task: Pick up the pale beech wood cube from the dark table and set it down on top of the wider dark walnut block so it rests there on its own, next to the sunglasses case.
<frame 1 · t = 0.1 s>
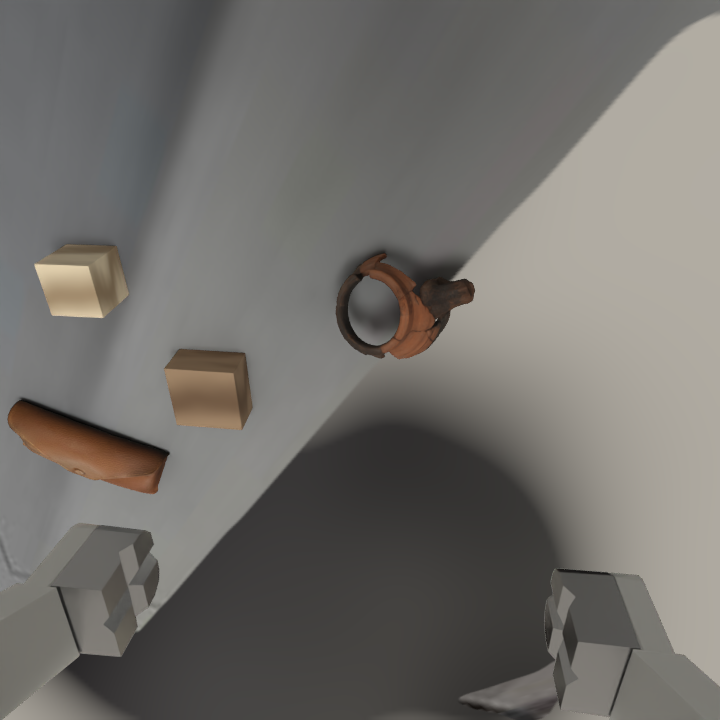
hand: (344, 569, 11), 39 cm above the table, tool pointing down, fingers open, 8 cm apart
brown piece: (409, 292, 50), on the table
sunglasses case: (97, 444, 66), on the table
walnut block: (217, 377, 58), on the table
beech block: (98, 269, 53), on the table
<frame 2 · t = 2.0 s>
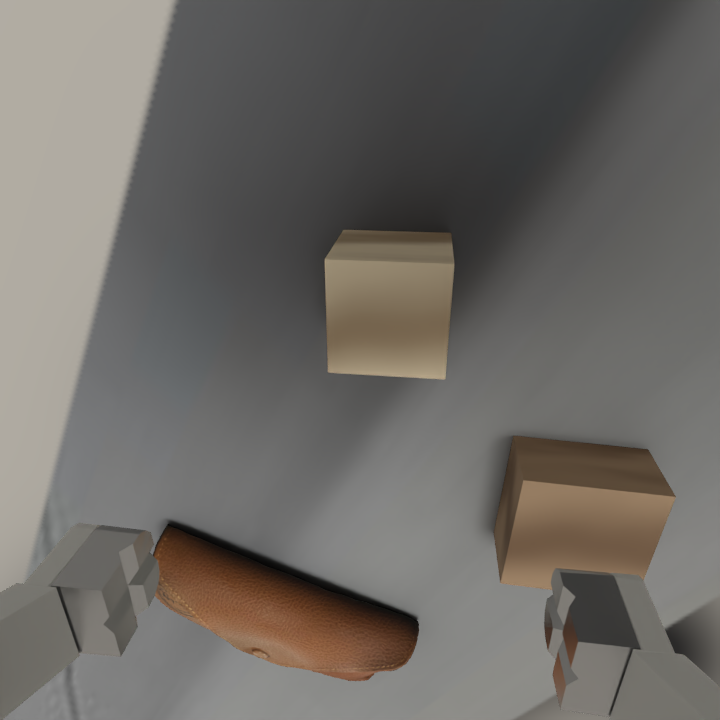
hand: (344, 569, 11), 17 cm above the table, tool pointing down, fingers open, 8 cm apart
sunglasses case: (281, 596, 39), on the table
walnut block: (565, 490, 31), on the table
beech block: (395, 282, 27), on the table
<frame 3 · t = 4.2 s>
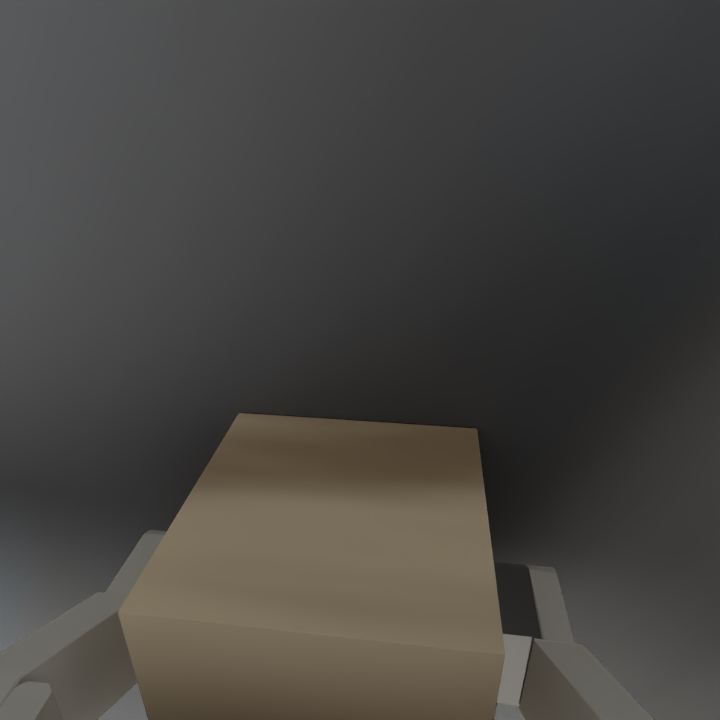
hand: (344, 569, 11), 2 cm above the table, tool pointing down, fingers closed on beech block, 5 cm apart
beech block: (355, 513, 12), on the table, touching gripper
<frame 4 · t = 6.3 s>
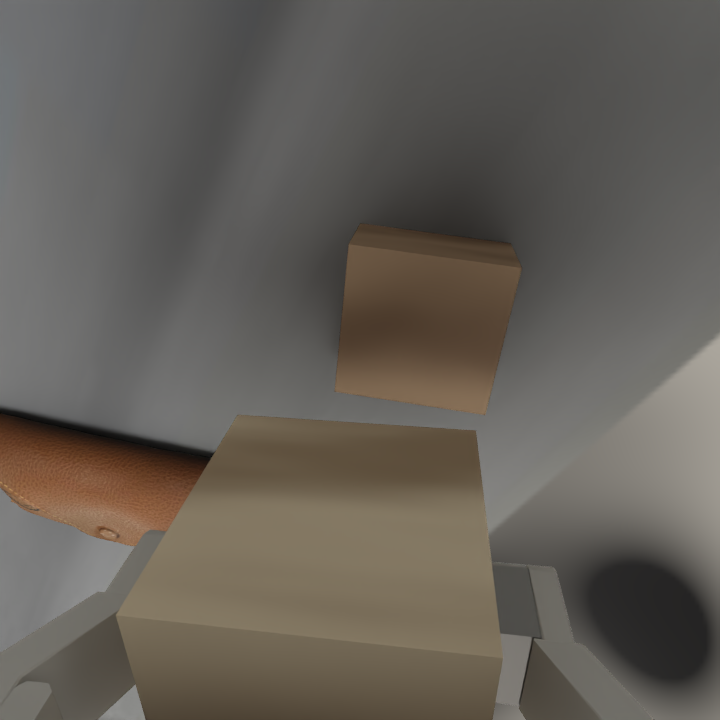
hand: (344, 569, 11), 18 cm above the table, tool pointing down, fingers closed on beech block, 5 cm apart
sunglasses case: (137, 477, 35), on the table
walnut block: (423, 301, 27), on the table
beech block: (354, 515, 12), point 16 cm above the table, touching gripper
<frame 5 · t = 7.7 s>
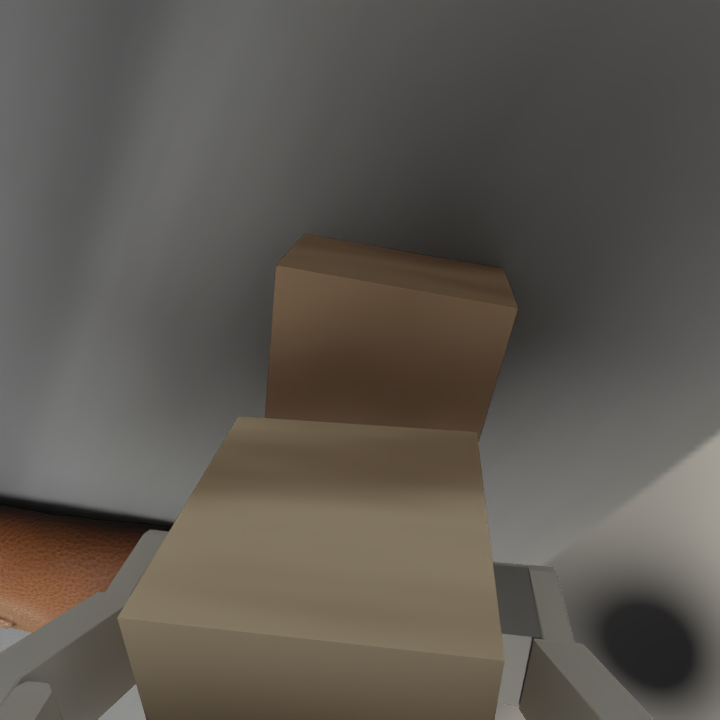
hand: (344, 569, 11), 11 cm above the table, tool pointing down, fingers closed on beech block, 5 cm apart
sunglasses case: (43, 546, 29), on the table
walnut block: (387, 338, 21), on the table
beech block: (355, 516, 12), point 9 cm above the table, touching gripper
when the fingers open (6 cm above the table, at t = 8.9 s): beech block stays where it is, resting on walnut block.
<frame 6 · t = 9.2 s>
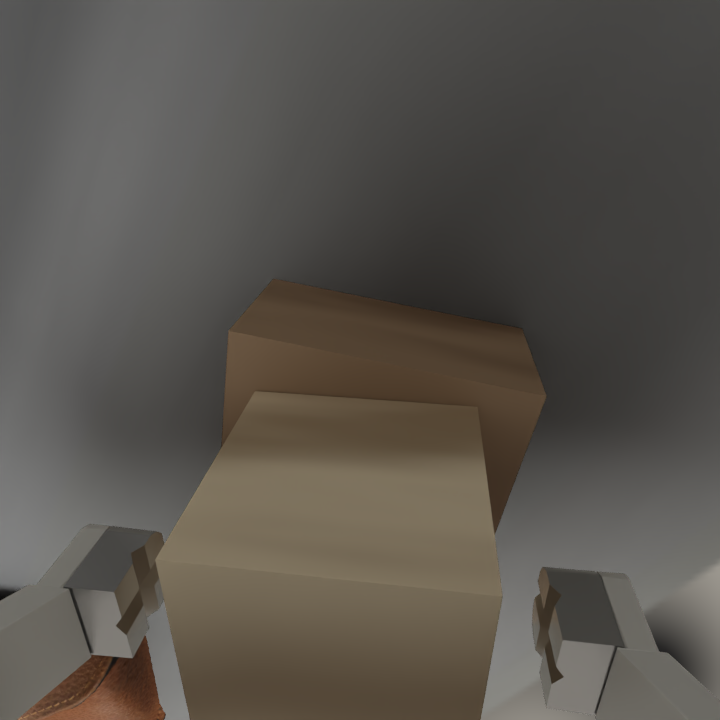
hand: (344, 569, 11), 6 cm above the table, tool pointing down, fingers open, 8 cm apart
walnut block: (375, 404, 17), on the table, touching beech block
beech block: (362, 487, 13), point 4 cm above the table, touching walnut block
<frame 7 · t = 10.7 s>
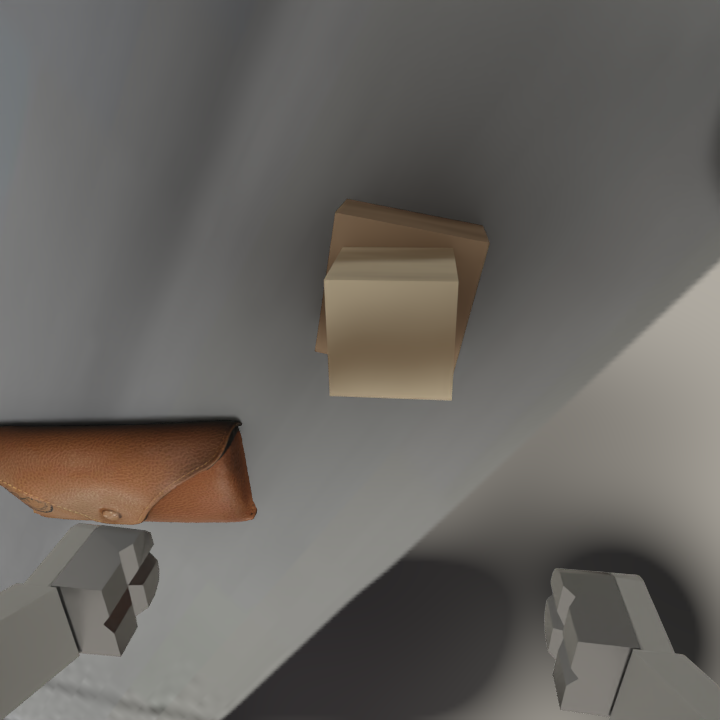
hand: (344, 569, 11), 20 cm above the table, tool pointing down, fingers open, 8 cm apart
sunglasses case: (132, 463, 38), on the table
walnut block: (401, 276, 29), on the table, touching beech block
beech block: (396, 299, 26), point 4 cm above the table, touching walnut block
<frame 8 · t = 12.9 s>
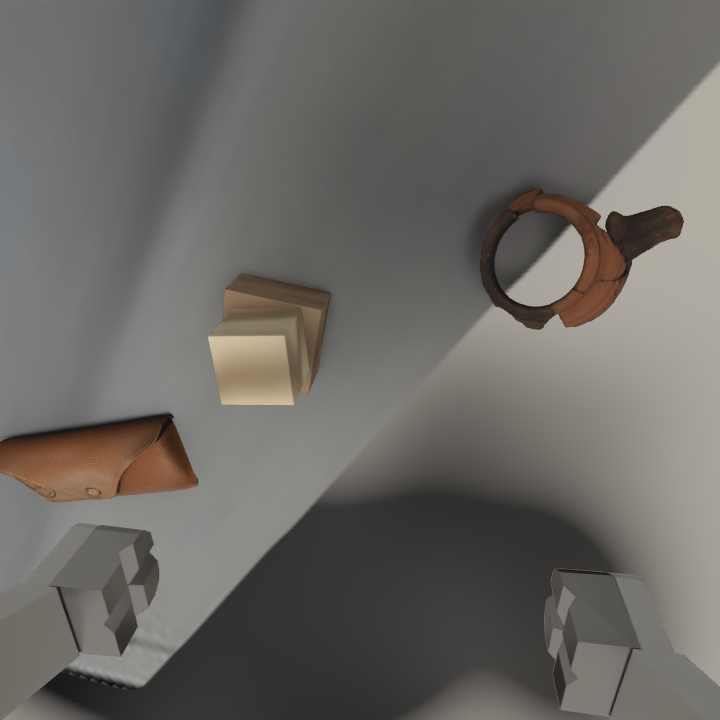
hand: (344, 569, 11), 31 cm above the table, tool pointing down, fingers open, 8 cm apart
brown piece: (566, 245, 38), on the table
sunglasses case: (107, 455, 53), on the table
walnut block: (281, 323, 44), on the table, touching beech block
beech block: (272, 340, 40), point 4 cm above the table, touching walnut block
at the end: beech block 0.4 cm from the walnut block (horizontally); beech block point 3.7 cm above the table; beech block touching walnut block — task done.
